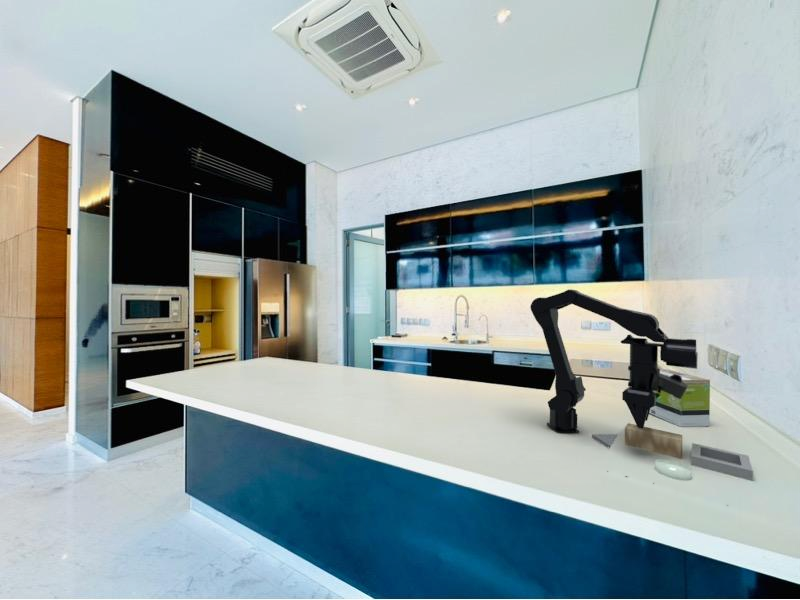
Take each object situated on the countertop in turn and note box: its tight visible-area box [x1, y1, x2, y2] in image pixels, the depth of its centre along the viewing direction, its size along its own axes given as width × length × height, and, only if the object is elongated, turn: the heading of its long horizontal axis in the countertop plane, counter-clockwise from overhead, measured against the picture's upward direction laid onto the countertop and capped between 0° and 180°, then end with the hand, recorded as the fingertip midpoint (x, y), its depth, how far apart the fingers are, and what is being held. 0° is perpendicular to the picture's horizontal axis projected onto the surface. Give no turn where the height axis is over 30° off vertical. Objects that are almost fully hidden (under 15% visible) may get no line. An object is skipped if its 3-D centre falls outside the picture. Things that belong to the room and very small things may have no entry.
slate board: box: [591, 433, 619, 449], centre depth 85 cm, size 14×14×1 cm
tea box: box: [649, 369, 711, 428], centre depth 108 cm, size 15×10×15 cm, turn 5°
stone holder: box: [690, 442, 754, 481], centre depth 75 cm, size 10×10×3 cm
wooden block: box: [624, 422, 683, 460], centre depth 83 cm, size 4×4×11 cm
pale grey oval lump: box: [654, 458, 693, 481], centre depth 71 cm, size 6×6×2 cm
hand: (642, 424), depth 84 cm, fingers open, 7 cm apart
